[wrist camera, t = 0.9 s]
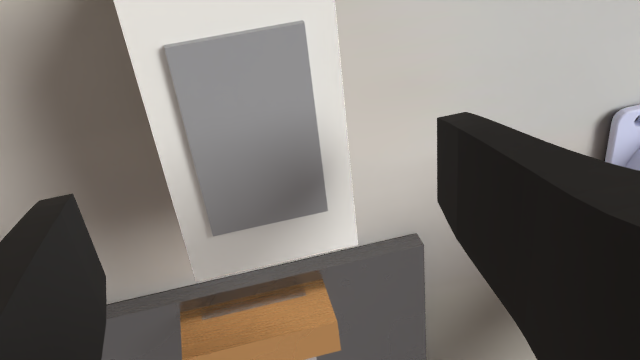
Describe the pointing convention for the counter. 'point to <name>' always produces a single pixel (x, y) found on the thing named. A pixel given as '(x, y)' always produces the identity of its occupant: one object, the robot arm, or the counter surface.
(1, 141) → the counter surface
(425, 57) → the counter surface
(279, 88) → the block
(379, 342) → the rail plate
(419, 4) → the counter surface
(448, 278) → the counter surface
